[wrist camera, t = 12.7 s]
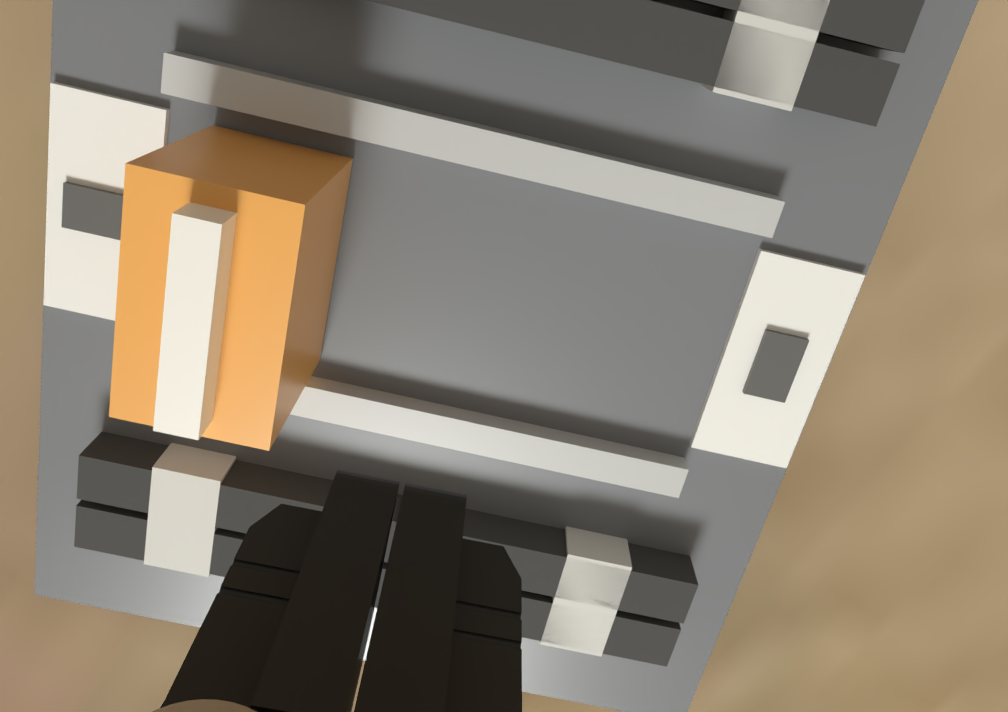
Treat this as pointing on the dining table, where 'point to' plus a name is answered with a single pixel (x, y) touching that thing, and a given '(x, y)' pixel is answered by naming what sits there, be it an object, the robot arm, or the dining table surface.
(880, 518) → the dining table surface
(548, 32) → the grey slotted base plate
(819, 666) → the dining table surface
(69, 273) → the breaker panel
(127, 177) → the block
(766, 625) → the dining table surface
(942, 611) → the dining table surface
